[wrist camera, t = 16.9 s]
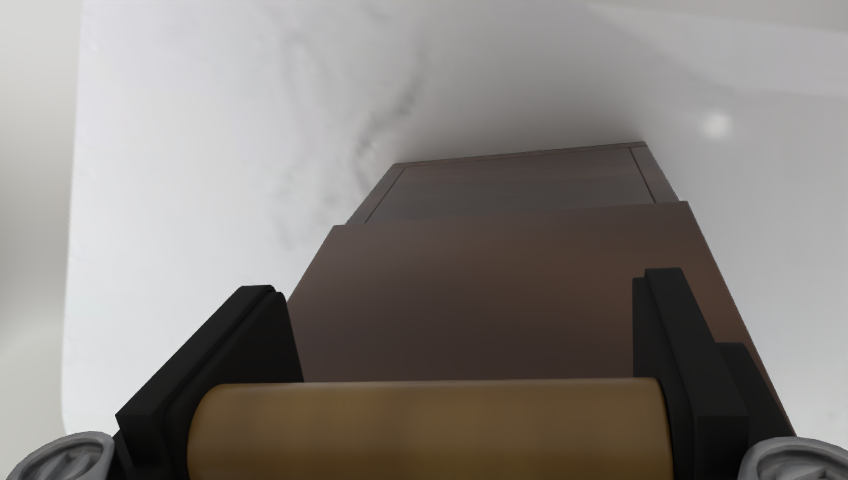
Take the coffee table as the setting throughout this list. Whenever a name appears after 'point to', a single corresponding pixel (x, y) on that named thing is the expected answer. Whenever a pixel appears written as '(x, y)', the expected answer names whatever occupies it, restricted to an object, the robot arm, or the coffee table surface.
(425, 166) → the chest
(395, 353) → the lid
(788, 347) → the coffee table surface
